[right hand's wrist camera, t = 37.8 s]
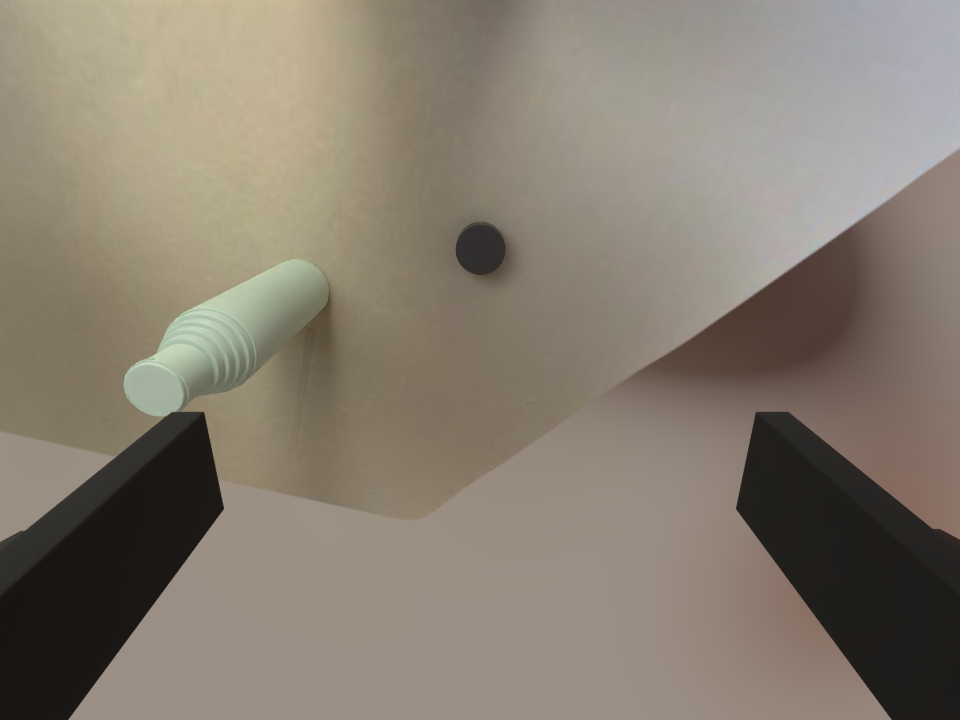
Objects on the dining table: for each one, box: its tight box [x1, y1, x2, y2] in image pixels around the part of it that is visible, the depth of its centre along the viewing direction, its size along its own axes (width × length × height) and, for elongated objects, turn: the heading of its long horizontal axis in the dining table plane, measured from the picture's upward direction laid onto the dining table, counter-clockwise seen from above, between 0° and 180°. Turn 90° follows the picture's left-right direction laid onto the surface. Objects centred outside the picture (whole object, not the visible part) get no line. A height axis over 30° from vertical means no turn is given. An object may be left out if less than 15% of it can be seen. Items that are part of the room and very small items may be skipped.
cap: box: [456, 222, 505, 275], centre depth 45 cm, size 4×4×2 cm
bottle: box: [123, 259, 329, 417], centre depth 36 cm, size 5×5×22 cm
